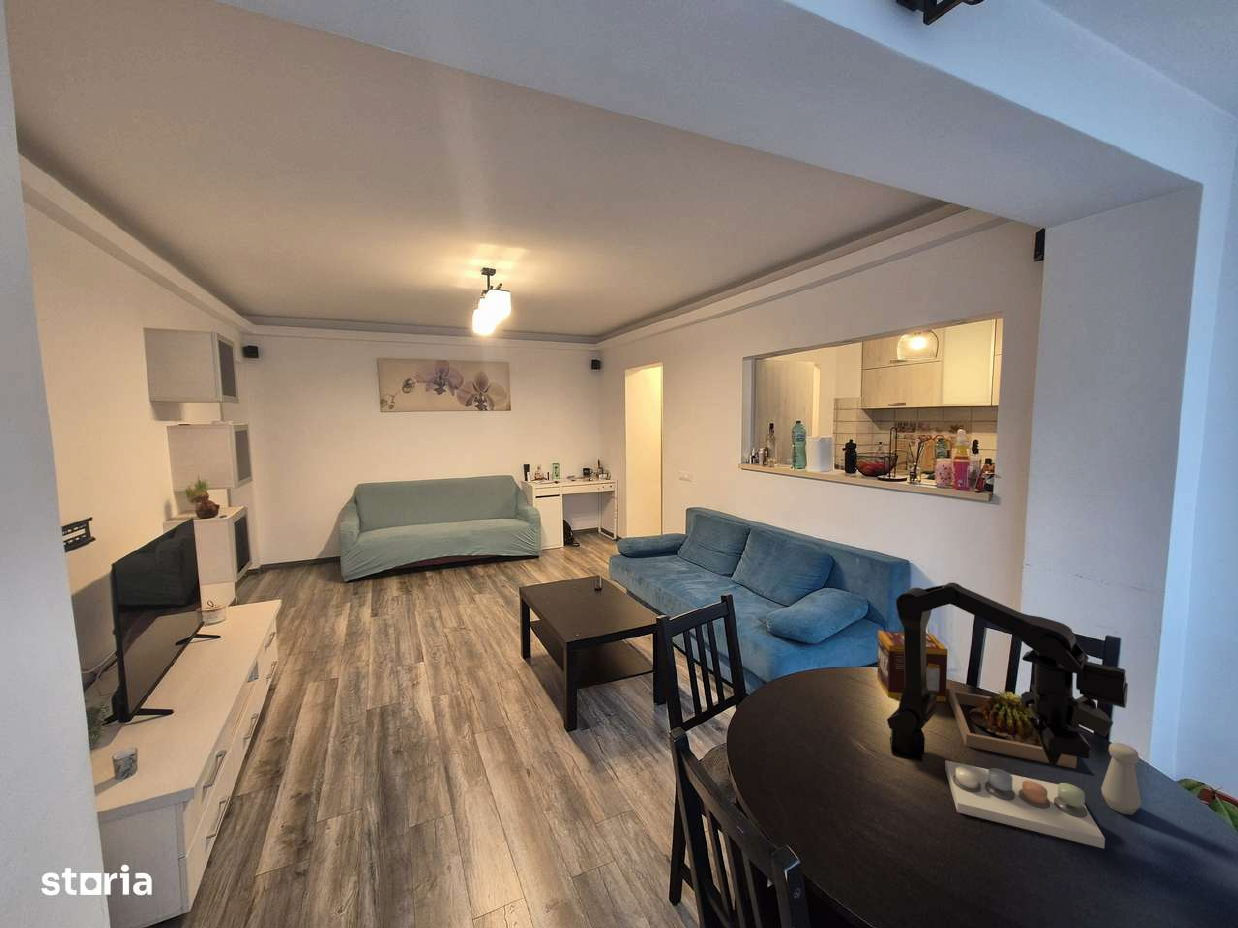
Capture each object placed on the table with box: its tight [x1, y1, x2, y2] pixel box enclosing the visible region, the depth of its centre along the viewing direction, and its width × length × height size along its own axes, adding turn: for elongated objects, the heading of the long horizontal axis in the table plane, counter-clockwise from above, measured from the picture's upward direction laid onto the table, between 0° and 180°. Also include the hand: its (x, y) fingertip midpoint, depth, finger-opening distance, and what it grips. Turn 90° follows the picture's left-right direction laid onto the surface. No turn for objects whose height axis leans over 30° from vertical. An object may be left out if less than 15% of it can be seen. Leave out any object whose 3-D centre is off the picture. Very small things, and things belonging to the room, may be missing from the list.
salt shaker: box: [1100, 742, 1142, 816], centre depth 103 cm, size 6×6×13 cm
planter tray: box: [948, 689, 1078, 769], centre depth 129 cm, size 21×22×3 cm
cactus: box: [968, 690, 1042, 747], centre depth 130 cm, size 17×16×10 cm
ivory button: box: [955, 766, 979, 788], centre depth 108 cm, size 4×4×2 cm
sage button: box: [1058, 782, 1086, 807], centre depth 101 cm, size 4×4×2 cm
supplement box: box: [876, 630, 949, 702], centre depth 149 cm, size 10×15×16 cm
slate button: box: [988, 767, 1013, 791], centre depth 106 cm, size 4×4×2 cm
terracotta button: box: [1022, 781, 1048, 804], centre depth 104 cm, size 4×4×2 cm
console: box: [944, 759, 1106, 849], centre depth 105 cm, size 23×14×2 cm, turn 66°
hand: (1052, 762), depth 102 cm, fingers closed
